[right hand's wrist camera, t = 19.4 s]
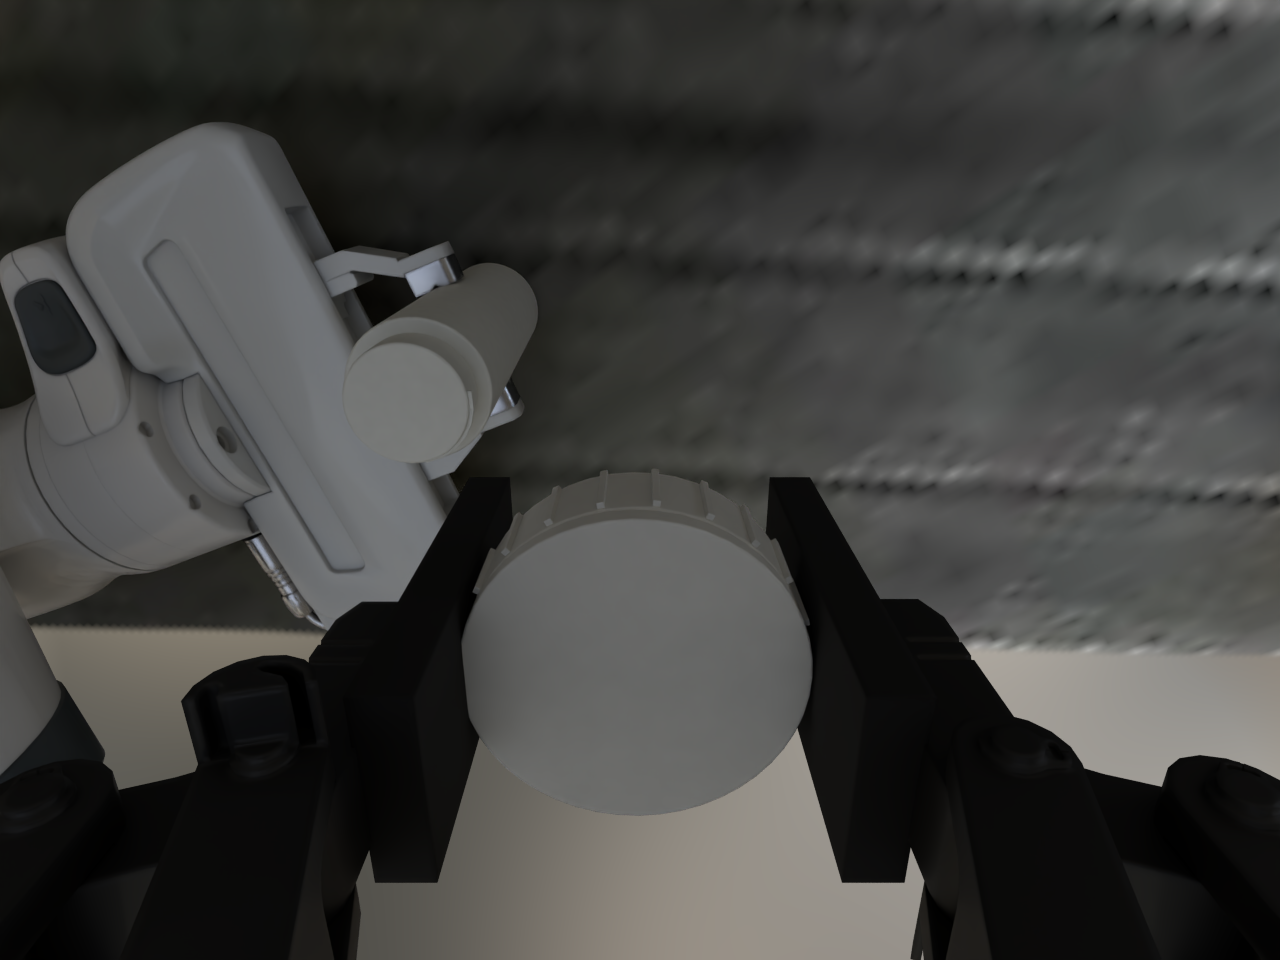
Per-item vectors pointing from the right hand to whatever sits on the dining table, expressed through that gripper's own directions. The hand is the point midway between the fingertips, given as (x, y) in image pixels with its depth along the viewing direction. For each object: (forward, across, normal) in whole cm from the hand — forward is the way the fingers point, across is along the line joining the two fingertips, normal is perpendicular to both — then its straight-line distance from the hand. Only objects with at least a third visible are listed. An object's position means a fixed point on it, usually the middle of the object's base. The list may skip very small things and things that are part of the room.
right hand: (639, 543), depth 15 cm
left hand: (+17, +6, -1) cm, 18 cm away
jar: (+24, +7, -1) cm, 25 cm away
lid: (-4, 0, 0) cm, 4 cm away
